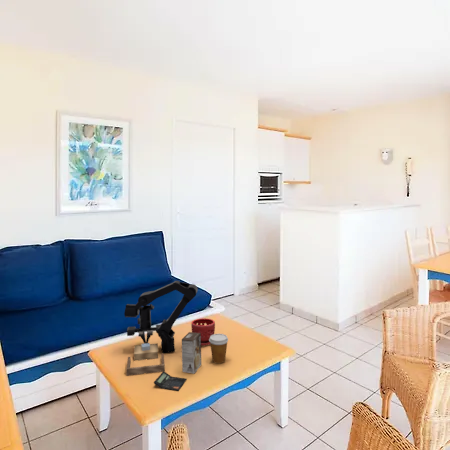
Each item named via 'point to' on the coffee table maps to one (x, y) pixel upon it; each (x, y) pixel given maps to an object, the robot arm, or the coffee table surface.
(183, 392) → the coffee table surface
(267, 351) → the coffee table surface
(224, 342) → the disposable coffee cup
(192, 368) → the coffee box
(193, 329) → the plant pot
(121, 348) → the coffee table surface
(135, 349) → the beige rectangular block
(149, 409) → the coffee table surface
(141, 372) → the dock bay
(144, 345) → the light blue square block
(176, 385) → the calculator
